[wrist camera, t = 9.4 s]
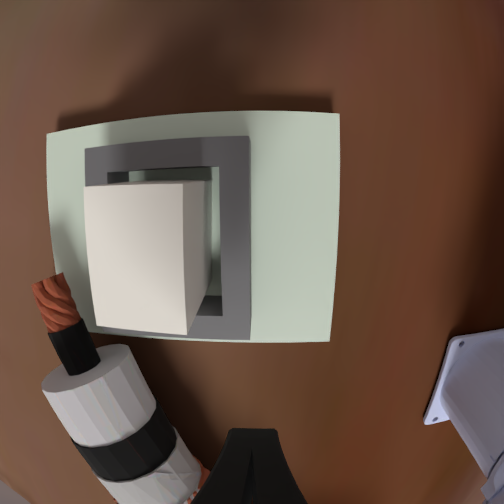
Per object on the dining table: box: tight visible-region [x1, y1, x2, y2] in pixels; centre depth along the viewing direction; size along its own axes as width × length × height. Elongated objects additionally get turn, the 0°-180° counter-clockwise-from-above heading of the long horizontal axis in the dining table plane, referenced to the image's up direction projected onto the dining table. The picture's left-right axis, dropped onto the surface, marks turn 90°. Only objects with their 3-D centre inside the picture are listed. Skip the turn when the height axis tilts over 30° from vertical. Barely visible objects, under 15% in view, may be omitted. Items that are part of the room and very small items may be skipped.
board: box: [47, 111, 340, 342], centre depth 15 cm, size 16×12×4 cm
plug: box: [84, 180, 212, 335], centre depth 13 cm, size 4×5×6 cm
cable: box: [31, 272, 210, 504], centre depth 17 cm, size 10×34×10 cm, turn 16°
